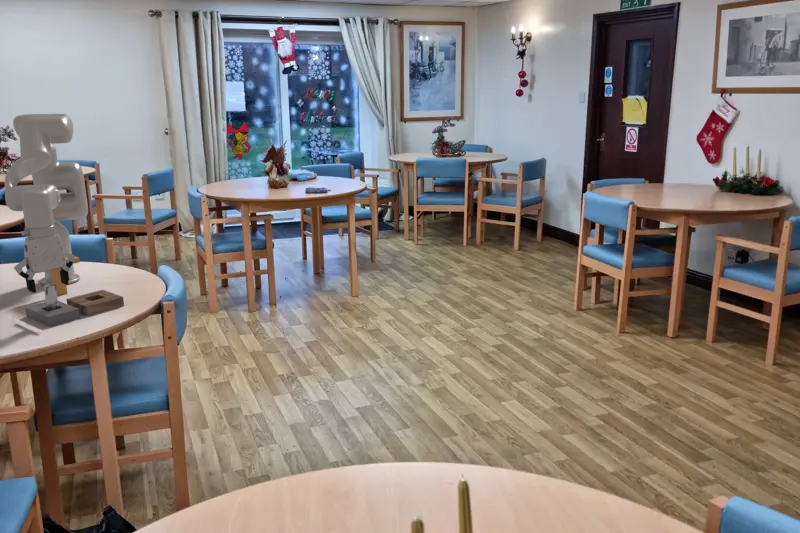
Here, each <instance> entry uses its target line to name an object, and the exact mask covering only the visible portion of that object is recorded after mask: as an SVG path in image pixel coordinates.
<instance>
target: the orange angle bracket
mask: <svg viewBox="0 0 800 533" xmlns="http://www.w3.org/2000/svg"><path fill="white" fill-rule="evenodd" d="M67 261H68V257H66V262H67ZM80 262H81V261H80V257H78V256H75V258H74V261H73V265H74V264H79V263H80ZM60 270H61V269H60V268H58V269H54V270H51V276H52V283H53V284H55V285H56V290H57V298H58V297H61V296H65V295H69V294H68V287H67V286H68V285H66V284H63V283H61V277H60Z"/></svg>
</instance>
